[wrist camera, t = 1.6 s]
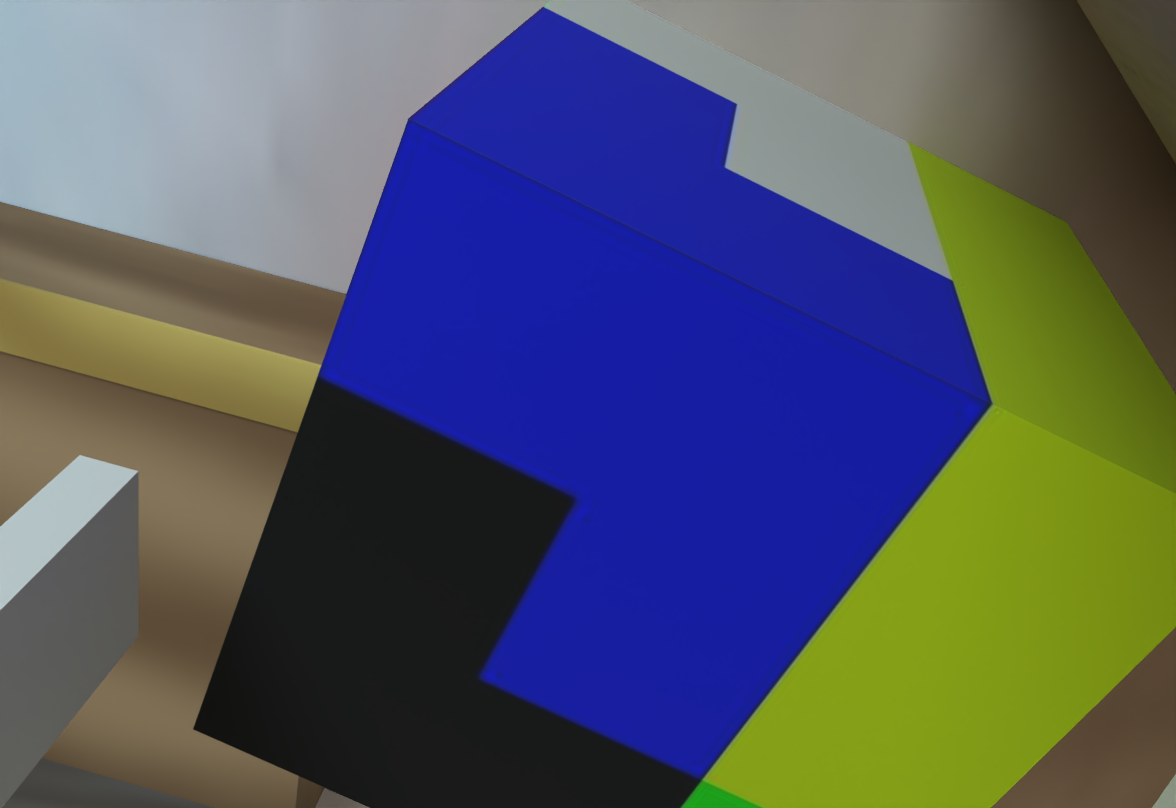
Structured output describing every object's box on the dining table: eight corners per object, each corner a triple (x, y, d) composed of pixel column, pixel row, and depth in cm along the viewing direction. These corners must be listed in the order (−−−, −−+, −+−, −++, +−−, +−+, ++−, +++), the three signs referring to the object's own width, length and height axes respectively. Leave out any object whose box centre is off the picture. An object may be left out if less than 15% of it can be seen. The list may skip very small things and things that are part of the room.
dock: (-177, 154, 24) (-419, 244, 19) (390, 306, 23) (287, 436, 18) (-96, 648, 31) (-255, 799, 27) (332, 770, 31) (248, 947, 26)
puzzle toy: (580, -25, 19) (408, 118, 11) (1066, 220, 20) (1267, 538, 12) (405, 401, 24) (193, 729, 16) (797, 586, 25) (797, 996, 17)
